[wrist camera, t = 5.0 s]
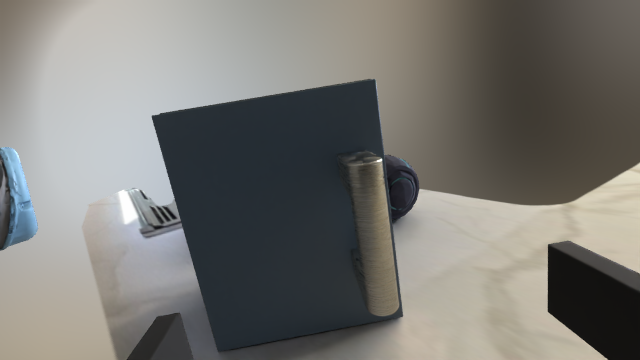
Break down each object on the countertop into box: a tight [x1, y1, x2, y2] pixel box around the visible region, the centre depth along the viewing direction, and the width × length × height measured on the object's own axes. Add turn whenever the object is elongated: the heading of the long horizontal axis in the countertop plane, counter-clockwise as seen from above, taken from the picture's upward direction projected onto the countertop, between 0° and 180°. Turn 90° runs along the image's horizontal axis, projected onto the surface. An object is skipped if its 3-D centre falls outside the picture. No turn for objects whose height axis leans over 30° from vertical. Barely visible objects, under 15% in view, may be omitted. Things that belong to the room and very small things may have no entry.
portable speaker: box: [384, 155, 419, 219], centre depth 55 cm, size 25×10×10 cm, turn 19°
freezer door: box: [152, 79, 403, 352], centre depth 21 cm, size 7×16×20 cm, turn 94°
